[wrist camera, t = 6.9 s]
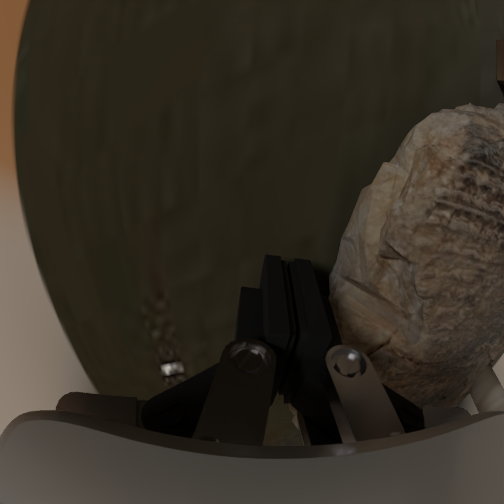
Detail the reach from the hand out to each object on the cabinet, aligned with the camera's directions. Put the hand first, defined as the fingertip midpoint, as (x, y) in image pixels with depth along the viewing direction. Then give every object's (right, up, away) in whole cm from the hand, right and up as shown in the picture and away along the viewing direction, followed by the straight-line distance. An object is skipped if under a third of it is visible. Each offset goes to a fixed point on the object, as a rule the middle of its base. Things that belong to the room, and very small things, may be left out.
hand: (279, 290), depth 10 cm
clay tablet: (+8, 0, +2) cm, 9 cm away
